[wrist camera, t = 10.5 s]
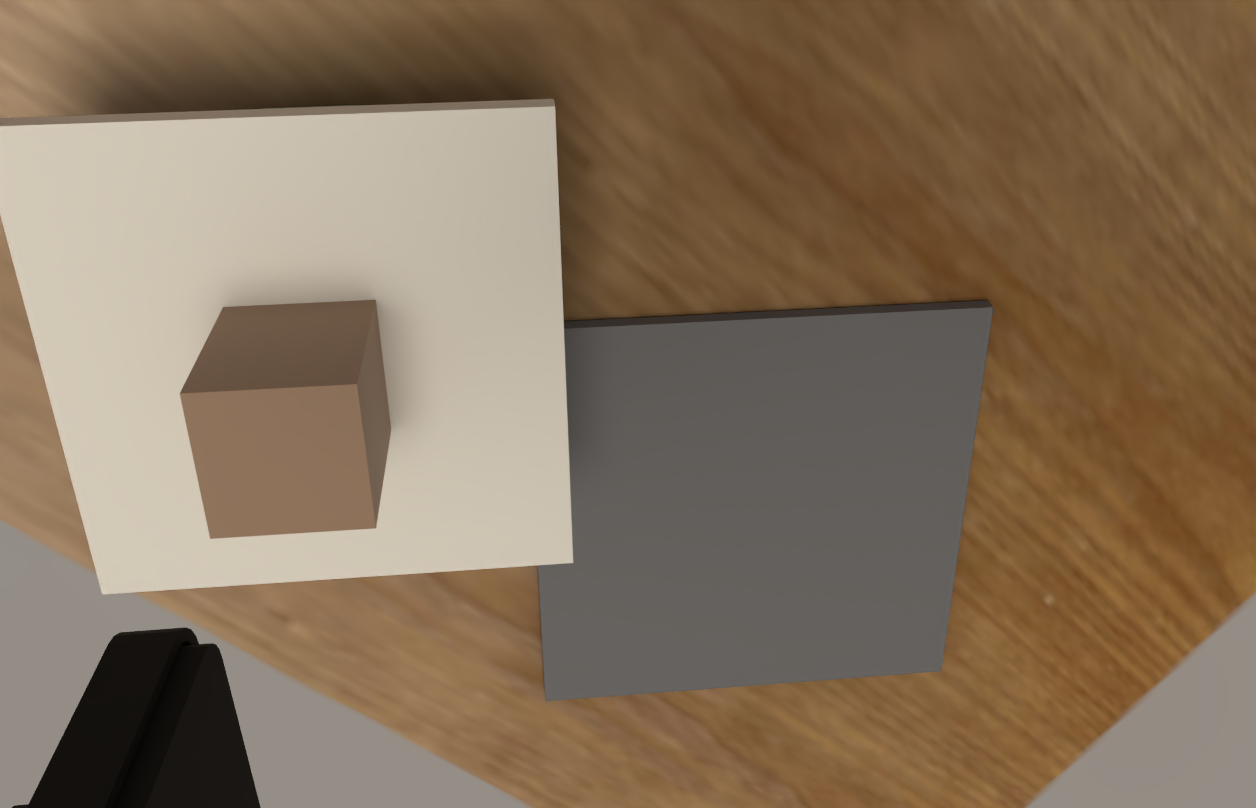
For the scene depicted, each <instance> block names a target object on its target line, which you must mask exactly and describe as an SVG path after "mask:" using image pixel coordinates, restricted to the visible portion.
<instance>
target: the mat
mask: <svg viewBox="0 0 1256 808" xmlns="http://www.w3.org/2000/svg"><path fill="white" fill-rule="evenodd" d="M992 313H993V306H992V305H991V304H990V303H989V302H988V301H987V300H984V301H963V302H943V303H923V304H903V305H883V306H863V307H843V308H823V309H803V310H783V311H763V312H743V313H723V314H703V315H683V316H663V317H643V318H623V319H603V320H583V321H564V343H565V368H566V394H567V419H568V444H569V469H570V494H571V519H572V545H573V563H565V564H550V565H538V578H539V595H540V613H541V631H542V649H543V666H544V684H545V701H553V700H566V699H579V698H592V697H606V696H619V695H632V694H645V693H659V692H672V691H685V690H698V689H712V688H725V687H738V686H751V685H764V684H778V683H791V682H804V681H817V680H831V679H844V678H857V677H870V676H884V675H897V674H910V673H923V672H937V671H941V669H942V662H943V655H944V648H945V641H946V634H947V627H948V620H949V613H950V606H951V599H952V592H953V585H954V578H955V571H956V564H957V557H958V550H959V543H960V536H961V529H962V522H963V515H964V508H965V502H966V495H967V488H968V481H969V474H970V467H971V460H972V453H973V446H974V439H975V432H976V425H977V418H978V411H979V404H980V397H981V390H982V383H983V376H984V369H985V362H986V355H987V348H988V341H989V334H990V327H991V320H992Z"/></svg>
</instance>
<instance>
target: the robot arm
mask: <svg viewBox="0 0 1256 808" xmlns="http://www.w3.org/2000/svg"><path fill="white" fill-rule="evenodd" d="M12 808H260V804H259V800H258V796H257V792H256V788H255V785H254V781H253V777H252V773H251V769H250V765H249V761H248V757H247V753H246V749H245V745H244V741H243V737H242V734H241V730H240V726H239V722H238V718H237V714H236V710H235V706H234V702H233V698H232V694H231V690H230V686H229V682H228V679H227V675H226V671H225V667H224V663H223V659H222V656H221V653H220V650H219V648H218V647H217V645H215V644H199V643H198V641H197V638H196V636H195V634H194V633H193V631H192V630H191V629H188V628H174V629H161V630H149V631H134V632H121V633H119V634H117V635H115V636H114V637H113V639H112V640H111V641H110V643H109V644H108V646H107V648H106V650H105V652H104V654H103V656H102V658H101V660H100V662H99V664H98V666H97V668H96V670H95V672H94V674H93V676H92V678H91V680H90V682H89V684H88V686H87V688H86V690H85V692H84V694H83V696H82V698H81V700H80V702H79V704H78V706H77V708H76V710H75V712H74V714H73V716H72V718H71V720H70V722H69V724H68V726H67V728H66V730H65V732H64V735H63V736H62V738H61V740H60V742H59V744H58V746H57V748H56V750H55V752H54V754H53V756H52V758H51V760H50V763H49V764H48V767H47V768H46V771H45V773H44V775H43V777H42V779H41V781H40V783H39V785H38V787H37V789H36V791H35V793H34V795H33V797H32V799H31V801H30V803H29V805H18V806H13V807H12Z"/></svg>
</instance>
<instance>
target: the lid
mask: <svg viewBox="0 0 1256 808" xmlns="http://www.w3.org/2000/svg"><path fill="white" fill-rule="evenodd" d="M0 215H1V219H2V223H3V226H4V230H5V234H6V237H7V241H8V245H9V249H10V252H11V256H12V260H13V264H14V267H15V271H16V275H17V278H18V282H19V286H20V290H21V293H22V297H23V301H24V305H25V308H26V312H27V316H28V319H29V323H30V327H31V331H32V334H33V338H34V342H35V346H36V349H37V353H38V357H39V360H40V364H41V368H42V372H43V375H44V379H45V383H46V387H47V390H48V394H49V398H50V401H51V405H52V409H53V413H54V416H55V420H56V424H57V428H58V431H59V435H60V439H61V442H62V446H63V450H64V454H65V457H66V461H67V465H68V469H69V472H70V476H71V480H72V483H73V487H74V491H75V495H76V498H77V502H78V506H79V510H80V513H81V517H82V521H83V524H84V528H85V532H86V536H87V539H88V543H89V547H90V550H91V554H92V558H93V562H94V565H95V569H96V573H97V577H98V580H99V584H100V588H101V591H102V594H114V593H130V592H145V591H160V590H175V589H190V588H205V587H220V586H235V585H250V584H265V583H280V582H295V581H310V580H325V579H340V578H355V577H370V576H385V575H400V574H415V573H430V572H445V571H460V570H475V569H490V568H505V567H520V566H535V565H550V564H565V563H573V545H572V519H571V494H570V469H569V444H568V419H567V394H566V368H565V343H564V318H563V293H562V268H561V242H560V217H559V192H558V167H557V142H556V117H555V103H554V99H532V100H503V101H475V102H446V103H418V104H389V105H361V106H332V107H304V108H276V109H247V110H219V111H190V112H162V113H133V114H105V115H76V116H48V117H20V118H0Z"/></svg>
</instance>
